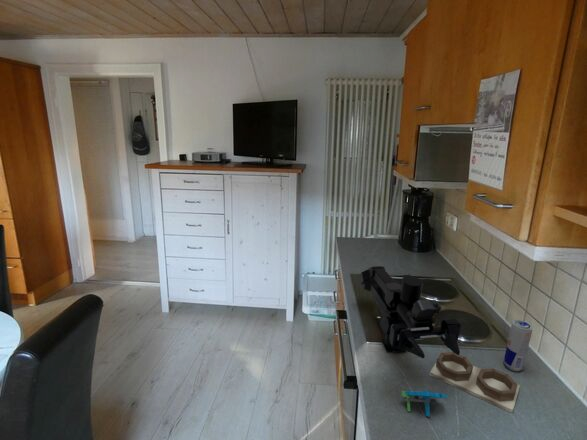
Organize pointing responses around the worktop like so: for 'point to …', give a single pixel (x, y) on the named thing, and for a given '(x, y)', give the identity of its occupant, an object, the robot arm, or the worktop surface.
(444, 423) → the worktop surface
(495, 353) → the worktop surface
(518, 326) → the beverage can
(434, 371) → the socket plate
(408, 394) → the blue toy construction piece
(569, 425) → the worktop surface
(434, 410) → the worktop surface
